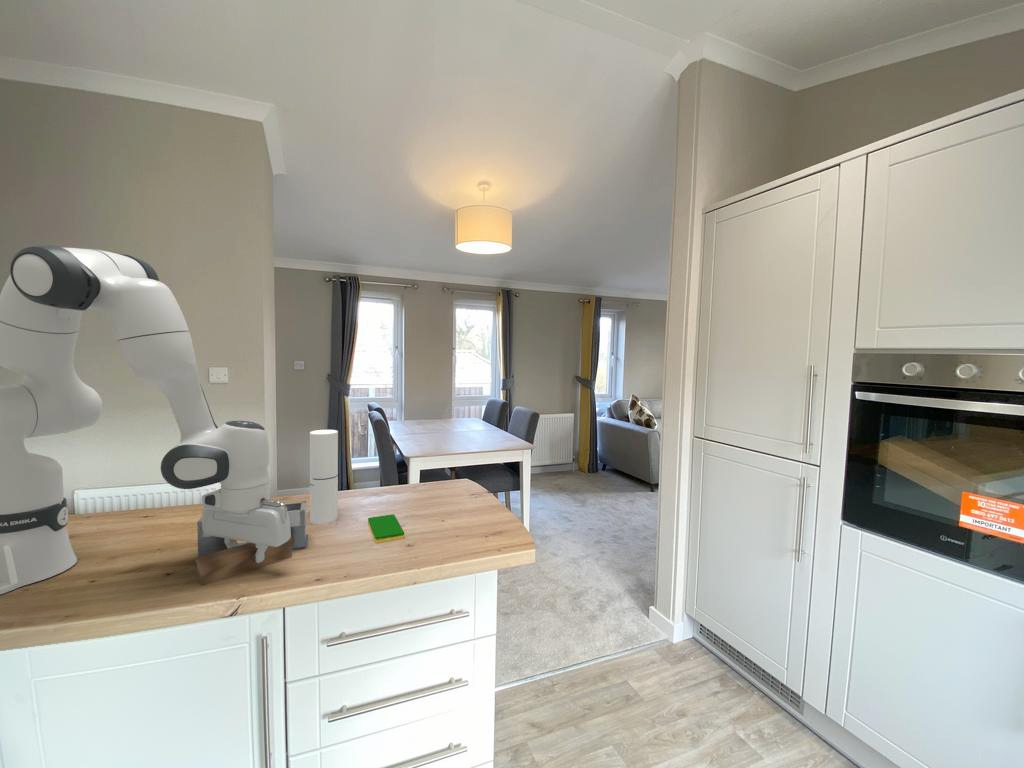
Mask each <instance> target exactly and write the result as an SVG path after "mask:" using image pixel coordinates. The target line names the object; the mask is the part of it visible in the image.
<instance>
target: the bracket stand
mask: <svg viewBox="0 0 1024 768" xmlns="http://www.w3.org/2000/svg"><path fill="white" fill-rule="evenodd" d="M282 504H283V505H284V506H285V507H287V512H288V516H289V522H290V530H291V537H292V551H297V550H298V551H299V550H302V549H303V550H305V549H308V545H309V538H310V536H309V535H310V534H308V533H307V500H304V501H295V502H284V503H283V502H282ZM196 523H197V524H196V525H197V526H196V527H197V557H200V556H204V555H207V554H211V553H214V552H218V551H222V550H225V549H228V548H227V546H226V544H225V542H224V538H221V537H215V536H209V535H206V534H205V532H204V531H203V528H202V516H201V517H200V518H199V520H198V521H197V522H196ZM236 541H237V543H238V540H236ZM247 543H250V542H239V543H238V546H240V545H243V544H247ZM194 563H195V565H197V559H196V560H195V562H194Z"/></svg>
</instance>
